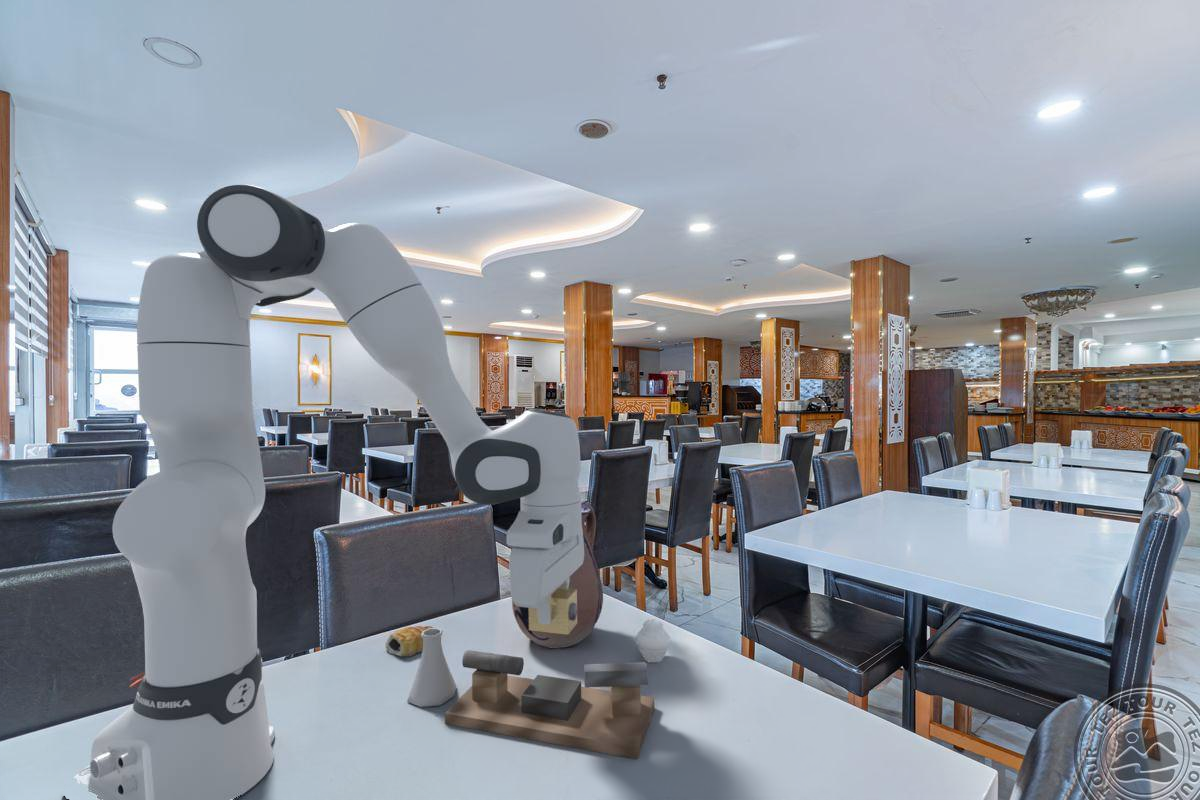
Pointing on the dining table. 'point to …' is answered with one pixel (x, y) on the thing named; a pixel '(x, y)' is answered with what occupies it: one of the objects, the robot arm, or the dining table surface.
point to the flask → (432, 673)
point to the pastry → (406, 641)
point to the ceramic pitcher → (587, 594)
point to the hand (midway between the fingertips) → (552, 614)
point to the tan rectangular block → (558, 613)
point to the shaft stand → (557, 704)
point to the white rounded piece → (653, 640)
